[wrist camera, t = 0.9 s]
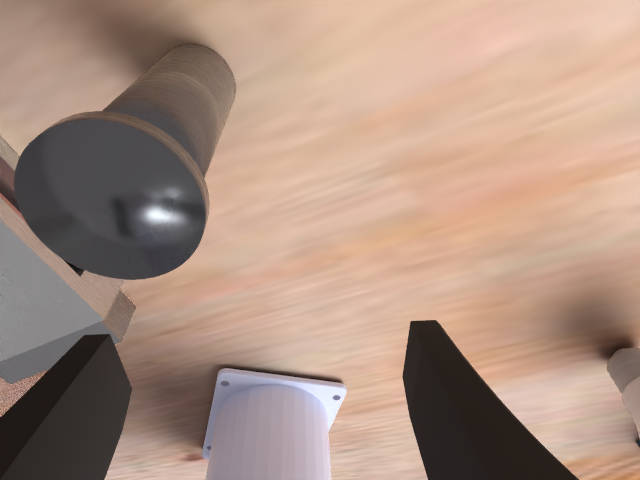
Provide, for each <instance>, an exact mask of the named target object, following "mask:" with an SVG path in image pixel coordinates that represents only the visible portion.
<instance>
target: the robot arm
mask: <svg viewBox="0 0 640 480" xmlns="http://www.w3.org/2000/svg"><path fill="white" fill-rule="evenodd" d="M403 381H404V387H405V393H406V399H407V404H408V410H409V415H410V419H411V423H412V426H413V430H414V433H415V436H416V440H417V443H418V447H419V450H420V454H421V457H422V460H423V464H424V467H425V470H426V474H427V477H428V480H579V479H578V478H577V477H576V476H574V475H573V474H572V473H571V472H570V471H569V470H568V469H567V468H566V467H565V466H564V465H563V464H562V463H561V462H560V461H558V460H557V459H556V458H555V457H554V456H553V455H552V454H551V453H550V452H549V451H548V450H547V449H546V448H545V447H544V446H543V445H542V444H541V443H540V442H539V441H538V440H537V439H536V438H535V437H534V436H533V435H532V434H531V433H530V432H529V431H528V430H527V429H526V427H525V426H524V425H523V424H522V423H521V422H520V421H519V420H518V419H517V418H516V417H515V416H514V415H513V414H512V413H511V411H510V410H509V409H508V408H507V407H506V406H505V405H504V404H503V403H502V401H501V400H500V399H499V398H498V397H497V396H496V394H495V393H494V392H493V391H492V390H491V389H490V387H489V386H488V385H487V384H486V383H485V382H484V380H483V379H482V378H481V377H480V376H479V374H478V373H477V372H476V371H475V370H474V368H473V367H472V366H471V365H470V363H469V362H468V361H467V359H466V358H465V357H464V356H463V354H462V353H461V352H460V351H459V349H458V348H457V347H456V345H455V344H454V343H453V341H452V340H451V339H450V337H449V336H448V335H447V333H446V332H445V331H444V329H443V328H442V327H441V325H440V324H439V323H438V322H437V321H436V320H427V321H411V323H410V329H409V336H408V343H407V350H406V357H405V364H404V371H403ZM131 391H132V388H131V385H130V383H129V380H128V378H127V375H126V373H125V370H124V368H123V365H122V363H121V360H120V358H119V355H118V353H117V350H116V348H115V345H114V342H113V340H112V337H111V335H110V334H94V335H84V336H83V337H81V338H80V339H79V340H78V341H77V342H76V343H75V344H74V345H73V346H72V347H71V348H70V349H69V350H68V351H67V352H66V353H65V354H64V355H63V356H62V357H61V358H60V359H59V360H58V361H57V362H56V363H55V364H54V365H53V366H52V367H51V368H50V369H49V370H48V371H47V372H46V373H45V374H44V375H43V376H42V377H41V378H40V379H39V380H38V381H37V382H36V383H35V384H34V385H33V386H32V387H31V388H30V389H29V390H28V391H27V392H26V393H25V394H24V395H23V396H22V397H21V398H20V399H19V400H18V401H17V402H16V403H15V404H14V405H13V406H12V407H11V408H10V409H9V410H8V411H7V412H6V413H5V414H4V415H3V416H2V417H0V480H104V479H105V476H106V474H107V471H108V468H109V466H110V463H111V460H112V457H113V455H114V452H115V449H116V446H117V444H118V441H119V438H120V435H121V432H122V429H123V425H124V421H125V417H126V413H127V409H128V404H129V400H130V395H131ZM345 395H346V386H345V385H344V384H342V383H337V382H329V381H322V380H314V379H307V378H299V377H291V376H284V375H276V374H268V373H261V372H253V371H246V370H238V369H230V368H224V369H221V370H220V371H219V372H218V376H217V381H216V386H215V391H214V396H213V401H212V406H211V411H210V416H209V421H208V426H207V431H206V436H205V441H204V446H203V450H202V457H203V458H205V459H209V463H208V469H207V475H206V480H331V465H330V450H329V435H328V431H329V429H330V427H331V425H332V423H333V421H334V418H335V416H336V414H337V412H338V410H339V408H340V405H341V403H342V401H343V399H344V397H345Z"/></svg>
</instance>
